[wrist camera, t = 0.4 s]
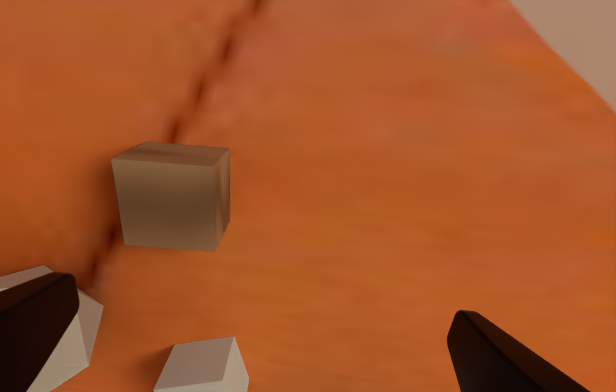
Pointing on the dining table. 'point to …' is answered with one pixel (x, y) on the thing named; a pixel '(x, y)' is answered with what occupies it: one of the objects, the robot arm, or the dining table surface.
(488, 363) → the robot arm
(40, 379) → the pale faceted polyhedron
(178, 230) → the walnut block
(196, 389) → the grey block
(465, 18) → the dining table surface
